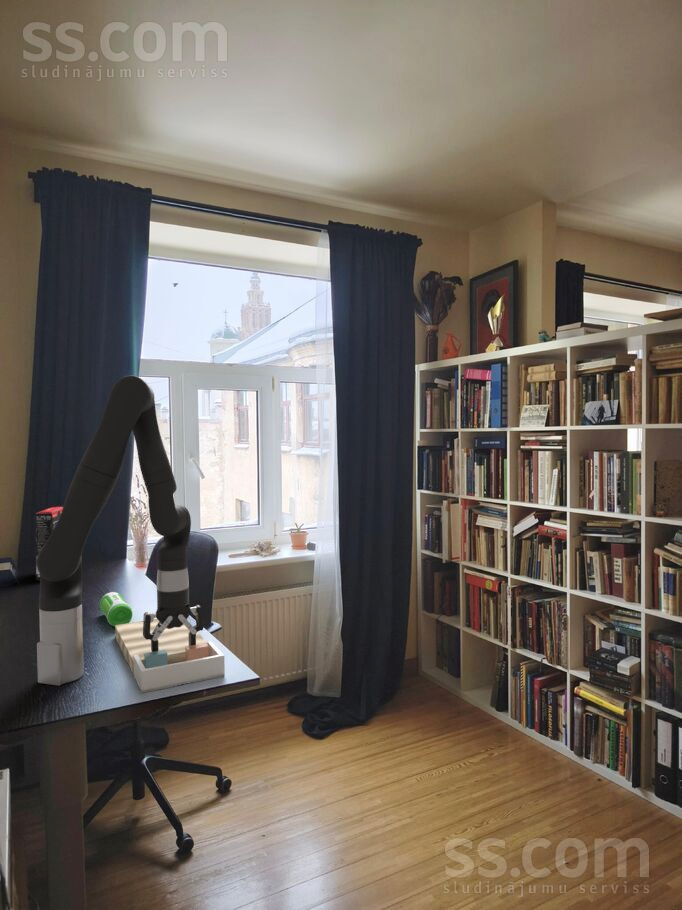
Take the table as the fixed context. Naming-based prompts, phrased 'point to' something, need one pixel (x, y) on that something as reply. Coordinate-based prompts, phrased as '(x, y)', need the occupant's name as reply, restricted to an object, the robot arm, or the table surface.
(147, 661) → the teal tile
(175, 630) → the wooden tray board
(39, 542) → the graphics card box
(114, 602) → the speaker
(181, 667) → the box
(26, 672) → the table surface
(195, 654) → the terracotta tile
